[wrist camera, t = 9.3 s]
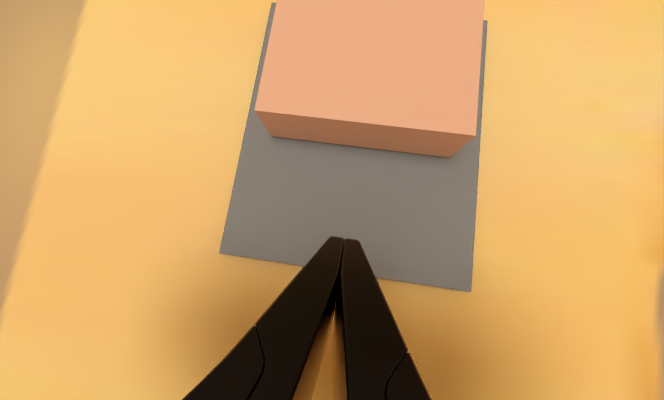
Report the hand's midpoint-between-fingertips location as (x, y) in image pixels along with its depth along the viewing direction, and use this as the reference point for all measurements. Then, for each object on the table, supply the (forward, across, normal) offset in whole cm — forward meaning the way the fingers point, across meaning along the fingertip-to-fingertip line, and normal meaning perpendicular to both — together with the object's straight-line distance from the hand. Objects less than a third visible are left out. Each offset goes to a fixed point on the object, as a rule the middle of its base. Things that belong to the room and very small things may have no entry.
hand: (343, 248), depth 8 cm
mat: (+13, 0, +1) cm, 13 cm away
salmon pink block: (+13, 0, -3) cm, 13 cm away
